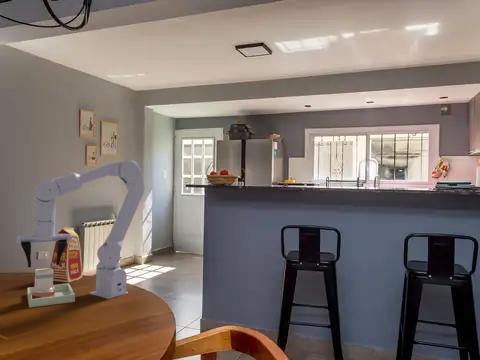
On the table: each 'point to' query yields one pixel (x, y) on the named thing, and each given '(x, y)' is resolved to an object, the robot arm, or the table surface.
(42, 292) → the tin can
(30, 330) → the table surface
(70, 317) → the table surface
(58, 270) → the milk carton
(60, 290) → the tray
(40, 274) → the tea box
